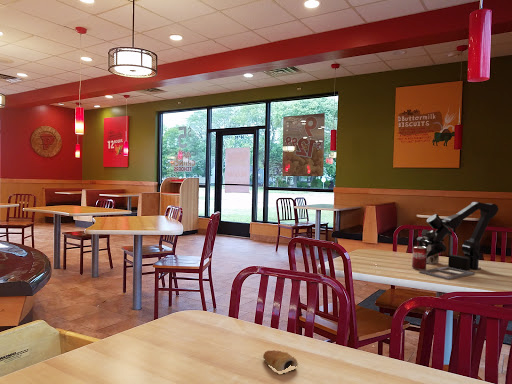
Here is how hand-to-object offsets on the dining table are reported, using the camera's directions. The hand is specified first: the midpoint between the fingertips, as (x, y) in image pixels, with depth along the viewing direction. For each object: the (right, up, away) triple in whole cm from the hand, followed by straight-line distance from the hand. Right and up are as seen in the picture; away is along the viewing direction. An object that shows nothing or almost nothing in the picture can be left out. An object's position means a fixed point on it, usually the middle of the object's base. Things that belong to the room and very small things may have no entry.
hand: (421, 254), depth 214 cm
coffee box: (+13, -8, +19) cm, 24 cm away
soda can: (-1, -8, 0) cm, 8 cm away
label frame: (+10, -8, -9) cm, 16 cm away
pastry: (-87, -9, -119) cm, 147 cm away
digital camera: (+24, -9, +5) cm, 26 cm away
